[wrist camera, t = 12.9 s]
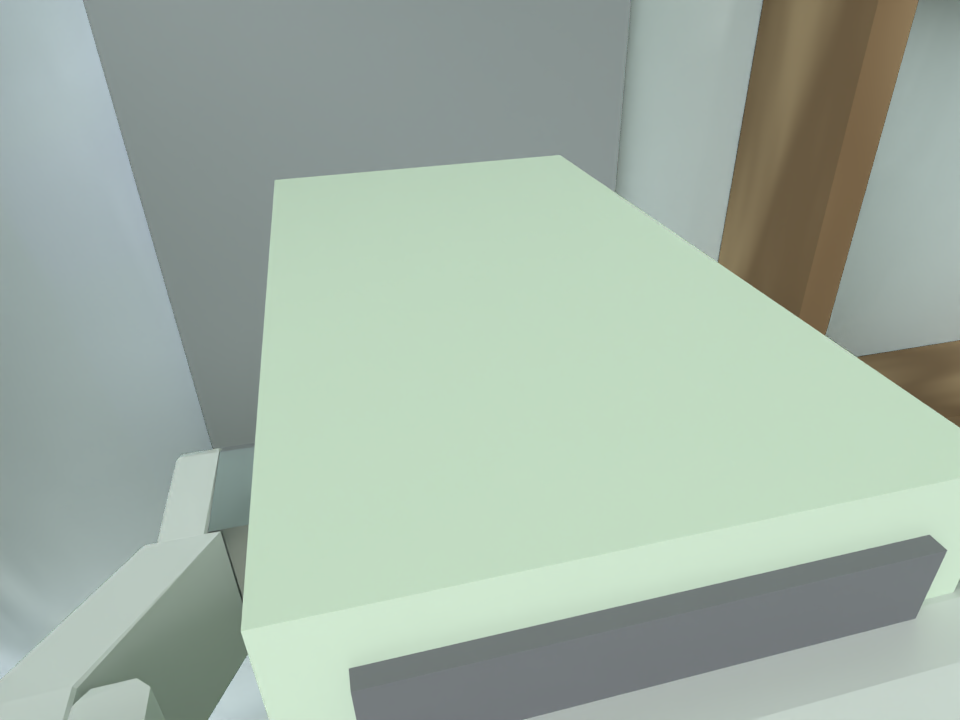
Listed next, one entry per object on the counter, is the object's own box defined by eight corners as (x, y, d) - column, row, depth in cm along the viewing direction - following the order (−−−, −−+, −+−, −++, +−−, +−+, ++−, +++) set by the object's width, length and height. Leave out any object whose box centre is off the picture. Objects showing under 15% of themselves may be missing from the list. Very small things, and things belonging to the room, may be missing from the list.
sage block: (560, 154, 12) (1037, 479, 4) (550, 423, 15) (819, 893, 7) (274, 179, 11) (238, 656, 3) (326, 462, 14) (369, 1049, 6)
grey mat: (628, -100, 15) (639, -102, 15) (590, 399, 23) (597, 409, 22) (64, -96, 13) (54, -98, 13) (221, 459, 20) (219, 471, 20)
